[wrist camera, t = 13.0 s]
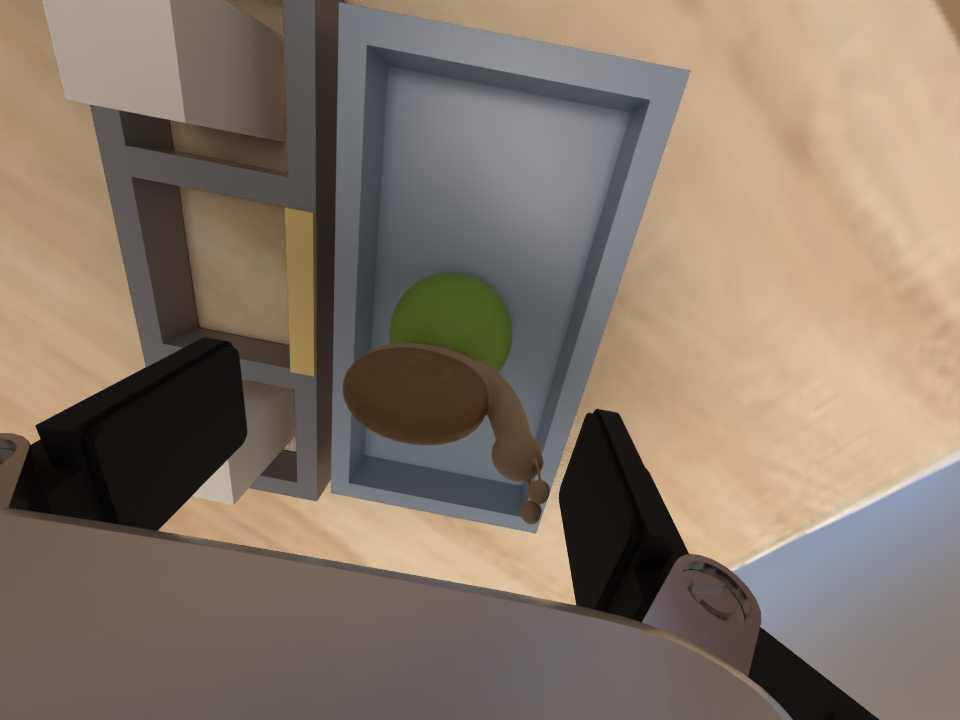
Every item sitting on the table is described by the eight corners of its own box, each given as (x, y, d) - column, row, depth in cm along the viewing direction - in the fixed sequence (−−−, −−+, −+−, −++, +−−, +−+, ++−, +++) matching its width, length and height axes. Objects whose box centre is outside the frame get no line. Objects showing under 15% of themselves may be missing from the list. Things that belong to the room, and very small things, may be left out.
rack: (112, -75, 15) (31, -128, 13) (345, -30, 15) (311, -74, 13) (198, 447, 26) (164, 475, 24) (334, 474, 26) (314, 505, 24)
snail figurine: (516, 378, 21) (517, 588, 10) (400, 350, 21) (274, 532, 10) (545, 281, 19) (587, 416, 8) (416, 250, 18) (272, 341, 8)
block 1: (189, 18, 16) (26, -67, 11) (281, 36, 16) (164, -40, 11) (201, 126, 18) (65, 99, 13) (284, 142, 18) (185, 123, 13)
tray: (373, 38, 16) (338, 2, 13) (655, 93, 16) (690, 70, 13) (353, 454, 25) (330, 492, 22) (533, 489, 25) (535, 533, 22)
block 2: (228, 370, 23) (141, 425, 18) (292, 382, 23) (225, 442, 18) (234, 424, 25) (157, 489, 20) (294, 436, 25) (233, 504, 20)
